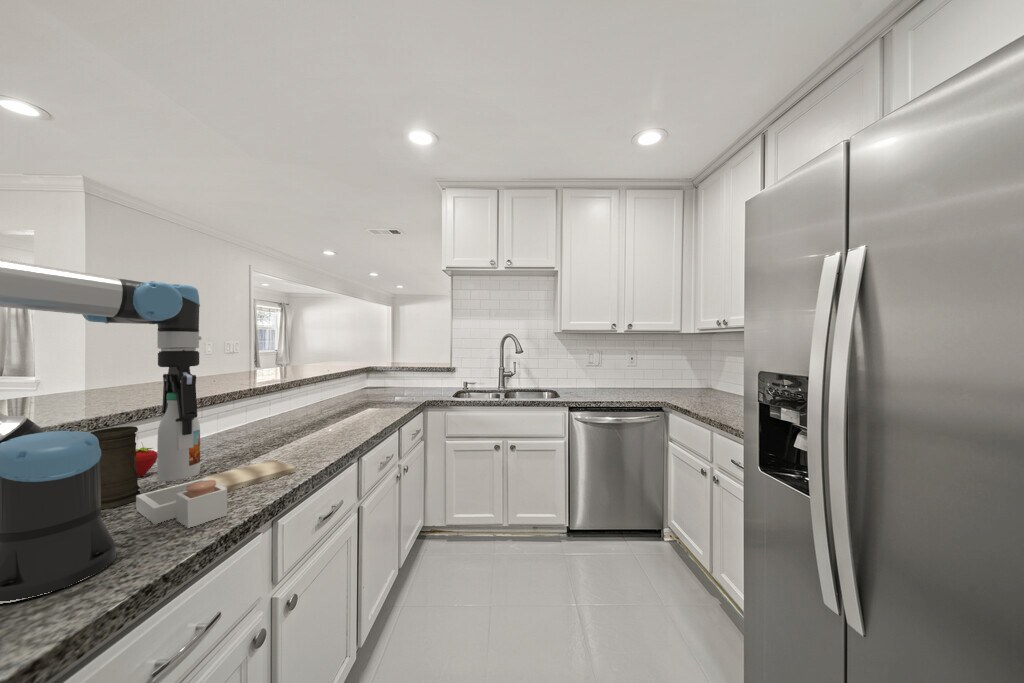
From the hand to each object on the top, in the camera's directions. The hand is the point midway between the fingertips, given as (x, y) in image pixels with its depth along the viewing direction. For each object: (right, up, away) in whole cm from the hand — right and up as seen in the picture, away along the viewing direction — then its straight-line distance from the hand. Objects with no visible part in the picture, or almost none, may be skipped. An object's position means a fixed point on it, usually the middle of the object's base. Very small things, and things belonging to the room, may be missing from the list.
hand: (179, 445), depth 92 cm
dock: (+4, -14, -2) cm, 15 cm away
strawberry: (-31, -15, +22) cm, 41 cm away
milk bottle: (0, -7, 0) cm, 7 cm away
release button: (+10, -12, -6) cm, 17 cm away
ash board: (+4, -14, +20) cm, 25 cm away
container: (-19, -15, +4) cm, 25 cm away
